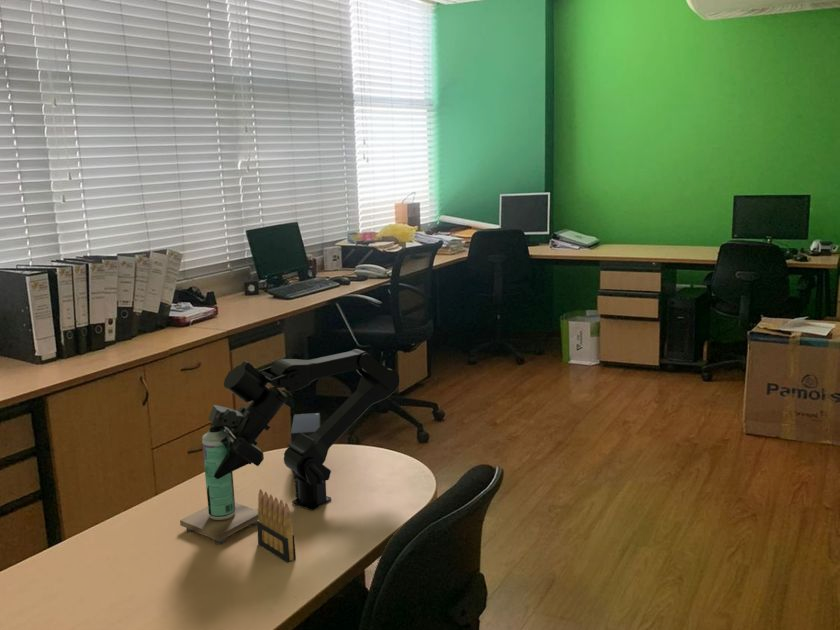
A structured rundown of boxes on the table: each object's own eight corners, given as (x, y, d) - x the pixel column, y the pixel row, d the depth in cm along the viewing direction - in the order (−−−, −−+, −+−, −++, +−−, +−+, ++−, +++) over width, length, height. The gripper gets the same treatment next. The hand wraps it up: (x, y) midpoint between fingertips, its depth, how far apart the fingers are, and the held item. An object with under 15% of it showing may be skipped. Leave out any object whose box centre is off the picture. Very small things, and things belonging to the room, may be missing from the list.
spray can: (239, 508, 166) (232, 419, 162) (230, 520, 161) (222, 429, 157) (214, 507, 167) (206, 419, 163) (205, 519, 162) (196, 429, 157)
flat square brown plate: (263, 522, 166) (262, 512, 166) (219, 546, 157) (218, 535, 156) (225, 508, 173) (224, 498, 172) (181, 531, 163) (179, 520, 163)
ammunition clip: (296, 559, 151) (293, 502, 149) (288, 563, 150) (285, 506, 147) (265, 540, 159) (261, 486, 156) (257, 544, 157) (253, 489, 155)
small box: (295, 457, 200) (293, 413, 198) (322, 456, 201) (320, 412, 199) (293, 479, 188) (290, 432, 185) (321, 477, 188) (319, 430, 186)
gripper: (219, 379, 168) (172, 438, 166) (243, 404, 152) (191, 469, 149) (257, 407, 173) (212, 464, 171) (284, 434, 157) (235, 497, 155)
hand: (212, 472), depth 161 cm, fingers closed on spray can, 5 cm apart
